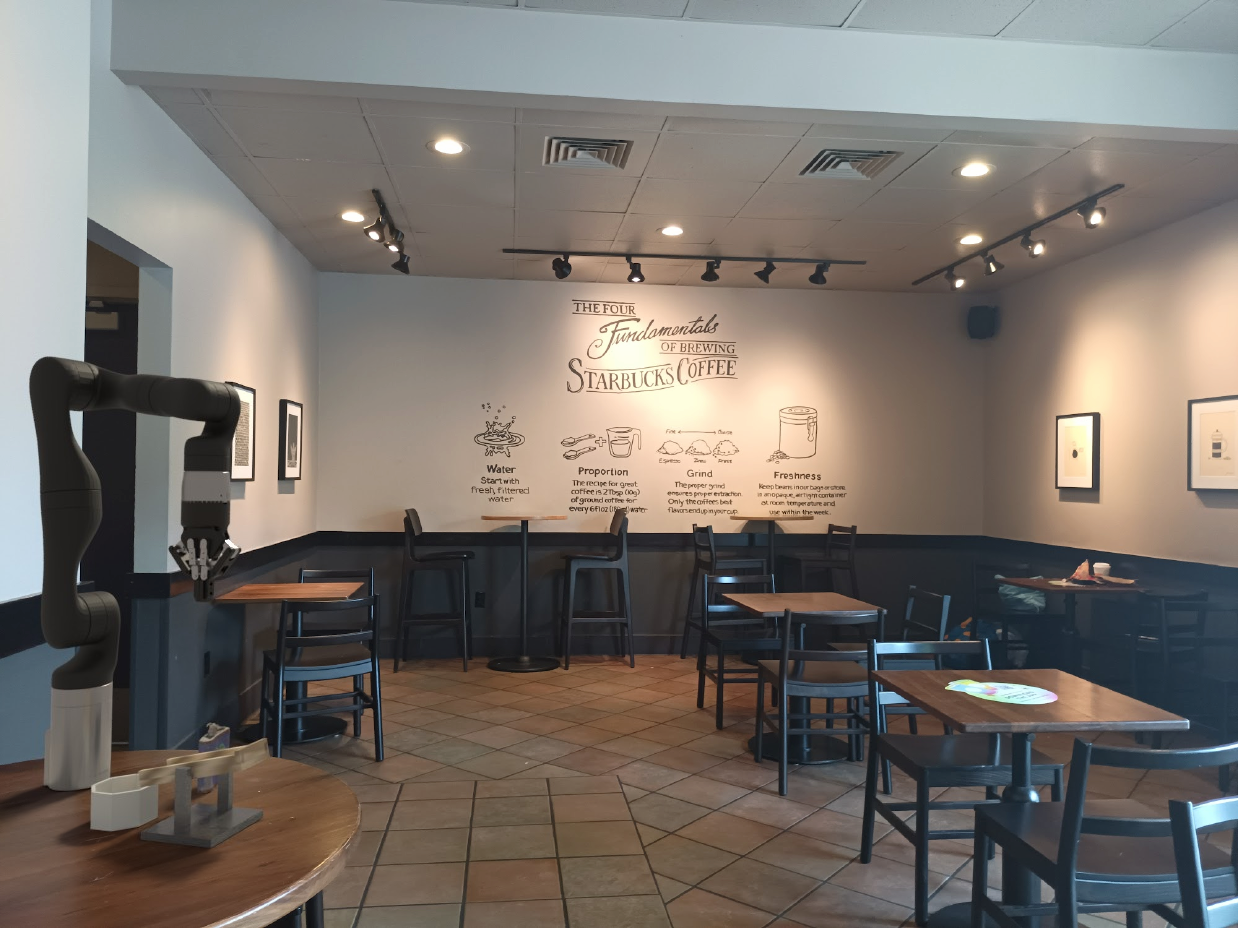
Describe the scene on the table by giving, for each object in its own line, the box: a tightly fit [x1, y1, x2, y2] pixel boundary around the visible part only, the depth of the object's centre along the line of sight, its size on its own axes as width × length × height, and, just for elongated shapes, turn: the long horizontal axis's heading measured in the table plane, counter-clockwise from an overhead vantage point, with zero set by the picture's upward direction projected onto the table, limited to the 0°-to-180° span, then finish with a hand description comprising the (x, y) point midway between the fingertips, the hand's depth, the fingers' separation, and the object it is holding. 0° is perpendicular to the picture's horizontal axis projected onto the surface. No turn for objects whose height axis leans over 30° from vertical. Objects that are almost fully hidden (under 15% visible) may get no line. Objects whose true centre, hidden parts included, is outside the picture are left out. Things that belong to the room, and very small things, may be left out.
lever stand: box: [140, 748, 264, 849], centre depth 132 cm, size 12×12×11 cm
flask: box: [196, 722, 231, 795], centre depth 151 cm, size 9×3×11 cm, turn 2°
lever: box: [137, 737, 271, 787], centre depth 135 cm, size 18×14×3 cm
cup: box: [89, 773, 160, 832], centre depth 135 cm, size 9×9×6 cm
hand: (203, 601), depth 145 cm, fingers closed
